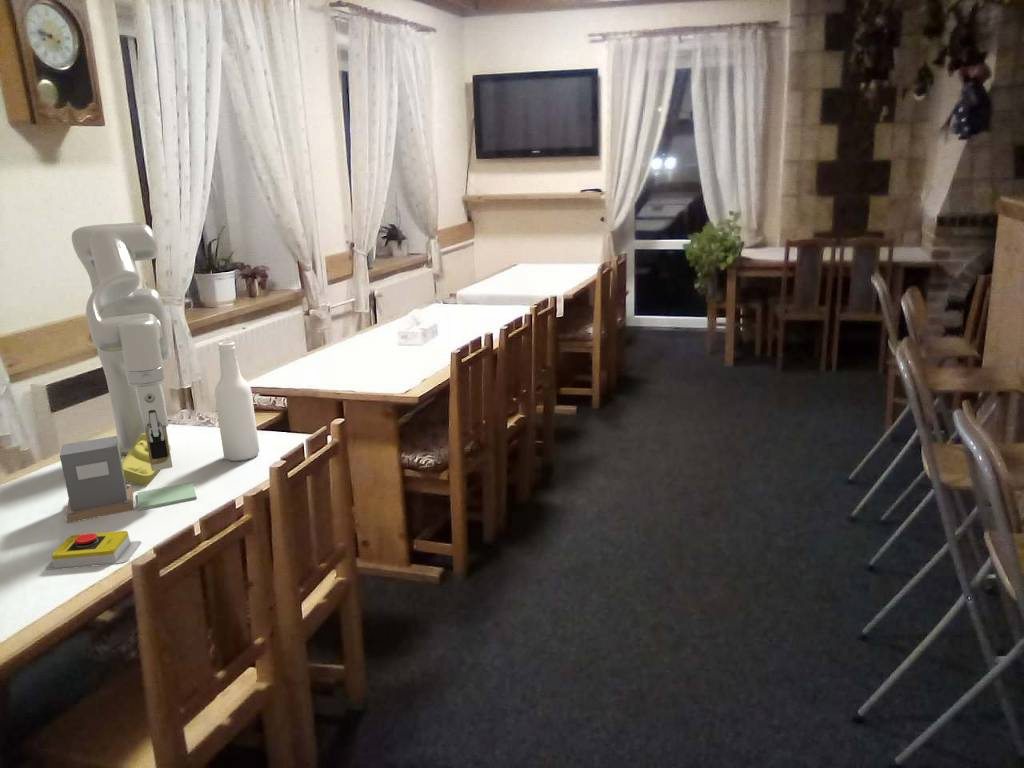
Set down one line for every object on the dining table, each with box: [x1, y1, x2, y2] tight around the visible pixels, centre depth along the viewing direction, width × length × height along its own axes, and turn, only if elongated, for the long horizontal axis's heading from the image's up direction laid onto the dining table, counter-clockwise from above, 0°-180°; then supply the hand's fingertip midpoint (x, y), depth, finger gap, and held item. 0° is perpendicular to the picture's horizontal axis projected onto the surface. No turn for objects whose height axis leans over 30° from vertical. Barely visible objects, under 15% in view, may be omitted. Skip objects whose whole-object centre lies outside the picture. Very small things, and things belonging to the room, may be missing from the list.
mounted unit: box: [59, 435, 135, 524], centre depth 176 cm, size 12×13×14 cm
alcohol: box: [214, 340, 260, 462], centre depth 202 cm, size 9×9×30 cm
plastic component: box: [122, 433, 172, 487], centre depth 197 cm, size 20×7×10 cm
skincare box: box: [144, 411, 174, 471], centre depth 178 cm, size 6×4×12 cm
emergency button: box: [45, 530, 142, 571], centre depth 154 cm, size 9×4×15 cm
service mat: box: [137, 481, 197, 511], centre depth 181 cm, size 10×12×1 cm
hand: (159, 452), depth 178 cm, fingers closed on skincare box, 6 cm apart
